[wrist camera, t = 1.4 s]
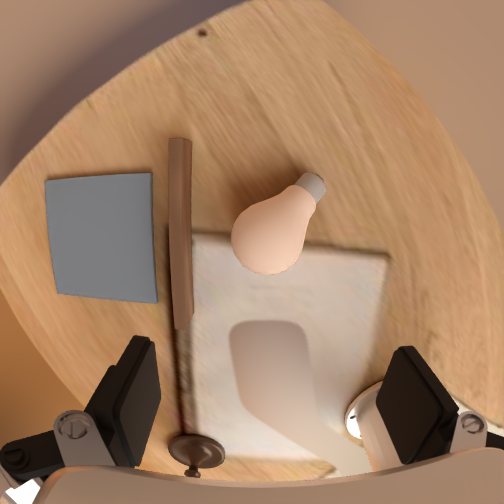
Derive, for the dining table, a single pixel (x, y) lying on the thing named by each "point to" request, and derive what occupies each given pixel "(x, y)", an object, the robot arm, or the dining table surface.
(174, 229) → the low wall
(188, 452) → the candlestick
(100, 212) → the mat
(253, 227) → the light bulb
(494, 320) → the dining table surface
